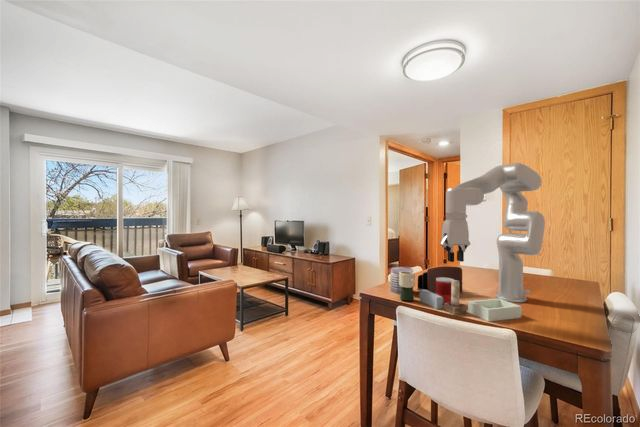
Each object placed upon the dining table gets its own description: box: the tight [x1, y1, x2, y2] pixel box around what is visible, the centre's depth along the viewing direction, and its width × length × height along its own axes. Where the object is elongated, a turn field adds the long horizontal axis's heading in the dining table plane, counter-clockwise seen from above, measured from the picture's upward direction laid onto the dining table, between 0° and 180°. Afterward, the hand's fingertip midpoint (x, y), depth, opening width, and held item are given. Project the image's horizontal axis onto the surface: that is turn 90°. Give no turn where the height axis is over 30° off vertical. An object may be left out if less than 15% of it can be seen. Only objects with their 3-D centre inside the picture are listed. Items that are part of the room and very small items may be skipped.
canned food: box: [436, 277, 454, 306], centre depth 125 cm, size 8×8×11 cm
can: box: [390, 266, 414, 295], centre depth 143 cm, size 11×11×12 cm
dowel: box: [451, 280, 460, 307], centre depth 114 cm, size 3×3×13 cm
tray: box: [467, 298, 522, 322], centre depth 111 cm, size 16×10×4 cm, turn 105°
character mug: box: [399, 271, 416, 302], centre depth 129 cm, size 11×7×13 cm, turn 12°
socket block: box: [443, 302, 468, 316], centre depth 114 cm, size 6×6×3 cm
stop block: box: [419, 290, 444, 310], centre depth 123 cm, size 3×12×5 cm, turn 14°
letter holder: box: [416, 265, 463, 294], centre depth 143 cm, size 10×20×14 cm, turn 101°
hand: (455, 260), depth 114 cm, fingers open, 3 cm apart
